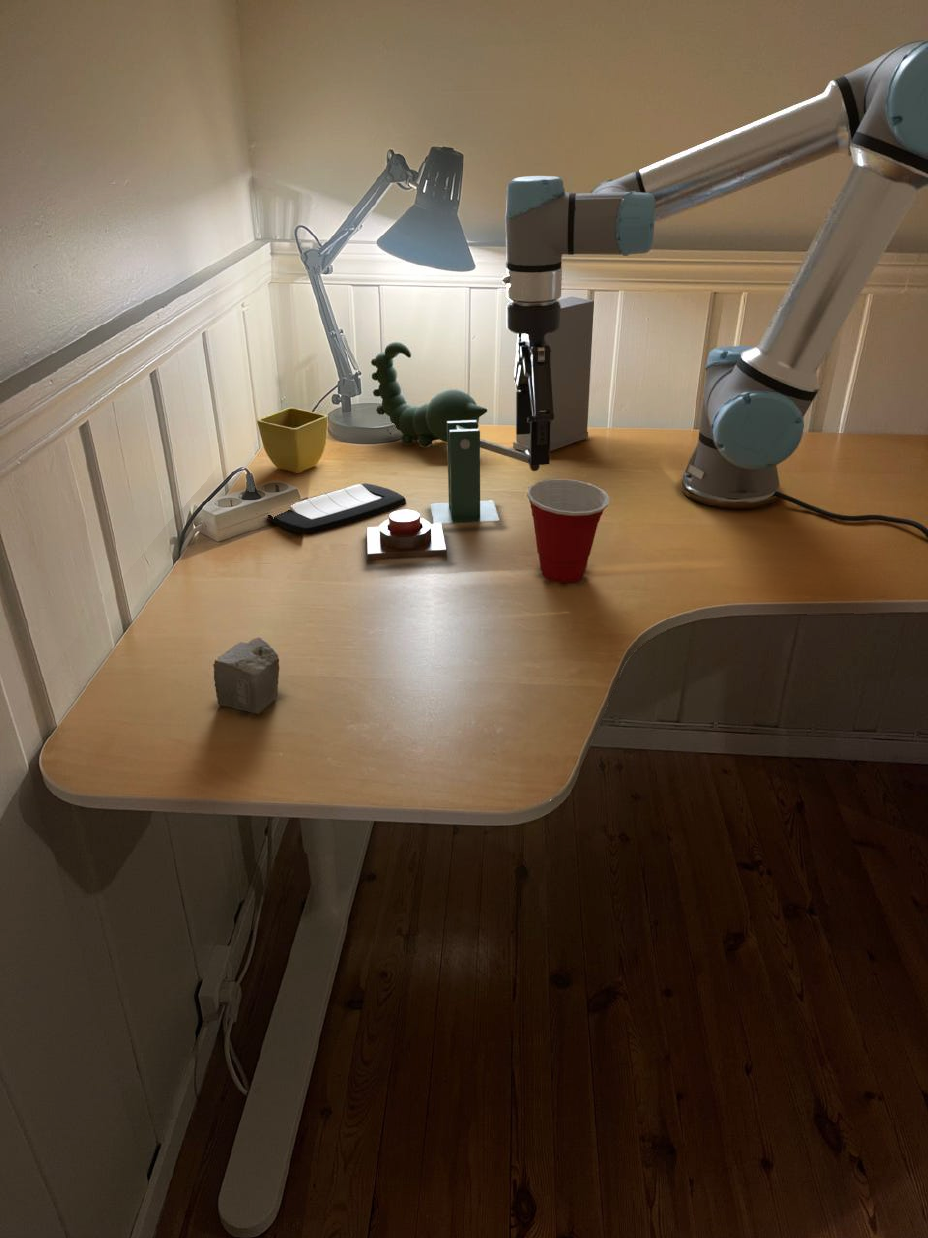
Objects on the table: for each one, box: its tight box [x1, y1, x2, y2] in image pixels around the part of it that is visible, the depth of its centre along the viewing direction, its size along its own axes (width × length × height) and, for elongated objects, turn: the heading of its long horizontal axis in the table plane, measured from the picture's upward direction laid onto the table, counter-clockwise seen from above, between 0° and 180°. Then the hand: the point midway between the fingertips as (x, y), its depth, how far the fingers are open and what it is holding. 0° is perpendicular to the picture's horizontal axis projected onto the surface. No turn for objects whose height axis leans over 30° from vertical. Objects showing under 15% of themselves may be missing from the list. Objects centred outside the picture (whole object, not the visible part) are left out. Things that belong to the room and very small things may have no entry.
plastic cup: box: [526, 478, 610, 584], centre depth 125 cm, size 11×11×12 cm
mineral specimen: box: [212, 637, 280, 715], centre depth 100 cm, size 7×9×8 cm
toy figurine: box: [370, 341, 488, 448], centre depth 170 cm, size 9×19×25 cm
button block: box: [366, 517, 448, 562], centre depth 134 cm, size 11×9×4 cm
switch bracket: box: [429, 420, 501, 525], centre depth 141 cm, size 10×8×15 cm
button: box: [388, 509, 421, 534], centre depth 133 cm, size 4×4×2 cm
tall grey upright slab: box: [512, 296, 595, 453], centre depth 167 cm, size 14×6×25 cm, turn 133°
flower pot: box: [256, 407, 328, 474], centre depth 163 cm, size 9×9×9 cm
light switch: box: [267, 483, 407, 536], centre depth 147 cm, size 20×3×14 cm
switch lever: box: [455, 425, 540, 472], centre depth 140 cm, size 13×6×2 cm, turn 95°
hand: (532, 448), depth 140 cm, fingers open, 13 cm apart
